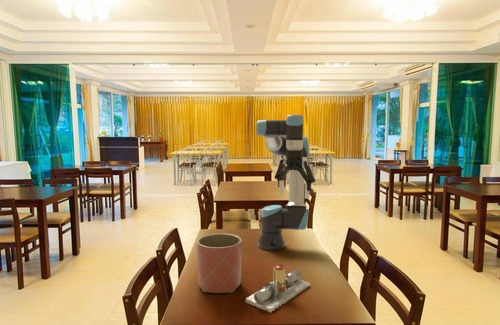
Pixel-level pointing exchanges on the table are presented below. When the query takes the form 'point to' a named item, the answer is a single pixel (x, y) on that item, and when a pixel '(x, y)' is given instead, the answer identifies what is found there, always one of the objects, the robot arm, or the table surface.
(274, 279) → the brass cylinder
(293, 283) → the pipeline
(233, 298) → the table surface
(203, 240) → the planter
